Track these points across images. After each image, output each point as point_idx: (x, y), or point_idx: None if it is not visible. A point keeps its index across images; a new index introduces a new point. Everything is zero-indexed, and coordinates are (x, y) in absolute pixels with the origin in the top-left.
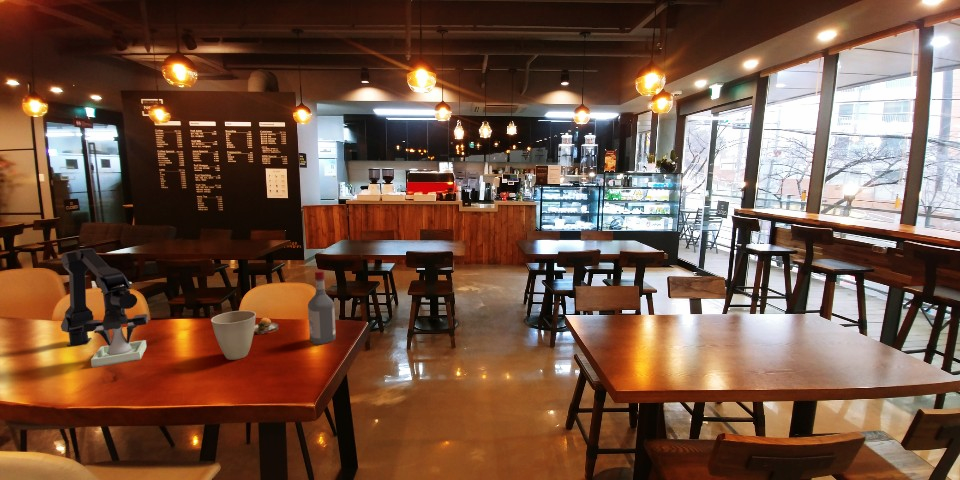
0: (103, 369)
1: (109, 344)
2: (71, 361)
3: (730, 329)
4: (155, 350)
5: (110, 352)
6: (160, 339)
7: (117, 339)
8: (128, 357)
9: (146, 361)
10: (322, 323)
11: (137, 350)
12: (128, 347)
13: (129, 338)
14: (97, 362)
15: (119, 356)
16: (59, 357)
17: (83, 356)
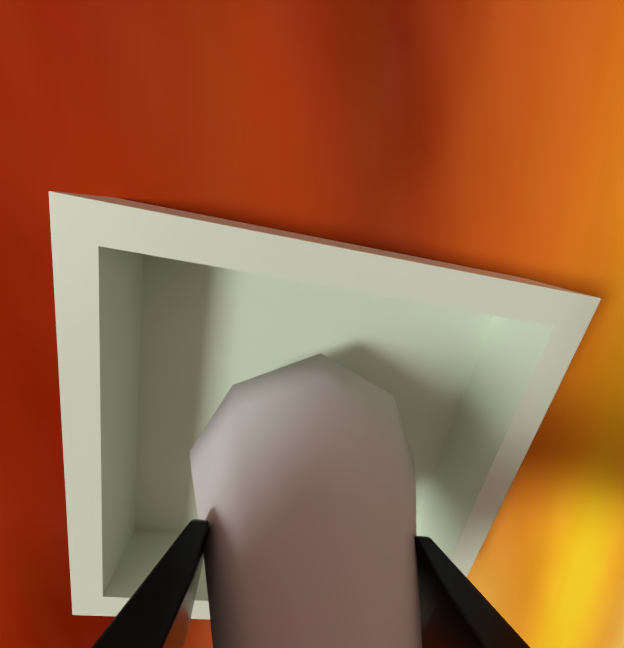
0: (458, 131)
1: (428, 553)
2: (586, 513)
3: None
4: (11, 408)
5: (397, 424)
6: (35, 639)
7: (341, 605)
8: (219, 221)
9: (28, 62)
10: None
11: (96, 301)
12: (214, 455)
13: (134, 597)
14: (511, 277)
15: (314, 241)
16: (608, 609)
17: (511, 563)
